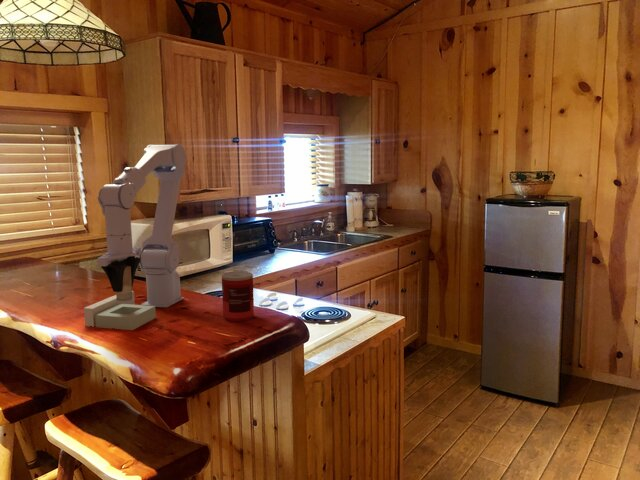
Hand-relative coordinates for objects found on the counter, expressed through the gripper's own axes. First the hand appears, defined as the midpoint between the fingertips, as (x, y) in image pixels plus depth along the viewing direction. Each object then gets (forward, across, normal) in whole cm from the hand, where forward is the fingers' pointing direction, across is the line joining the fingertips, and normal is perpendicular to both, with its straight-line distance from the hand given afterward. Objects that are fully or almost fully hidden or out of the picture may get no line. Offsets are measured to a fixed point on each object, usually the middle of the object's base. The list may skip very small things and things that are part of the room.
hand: (122, 289), depth 132 cm
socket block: (+8, 0, 0) cm, 8 cm away
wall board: (+8, +4, +6) cm, 11 cm away
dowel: (+2, 0, 0) cm, 2 cm away
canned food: (+8, +10, -26) cm, 29 cm away
